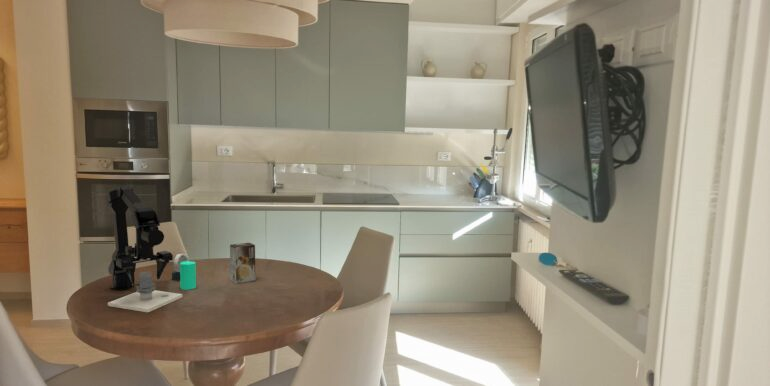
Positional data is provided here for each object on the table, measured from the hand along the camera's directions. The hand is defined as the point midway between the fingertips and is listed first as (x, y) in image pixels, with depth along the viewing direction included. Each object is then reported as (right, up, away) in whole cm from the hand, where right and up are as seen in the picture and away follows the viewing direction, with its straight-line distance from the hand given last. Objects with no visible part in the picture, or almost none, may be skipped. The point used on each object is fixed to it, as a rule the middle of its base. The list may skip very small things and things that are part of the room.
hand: (145, 281), depth 189 cm
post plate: (0, -8, +1) cm, 8 cm away
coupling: (0, -3, +1) cm, 4 cm away
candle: (+8, -6, +19) cm, 22 cm away
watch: (+1, -4, +31) cm, 31 cm away
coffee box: (+28, -5, +31) cm, 42 cm away
